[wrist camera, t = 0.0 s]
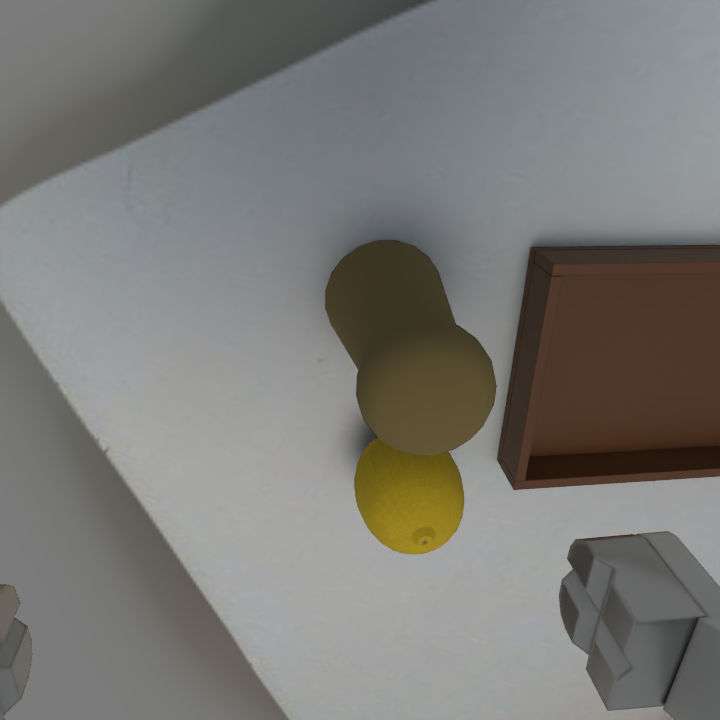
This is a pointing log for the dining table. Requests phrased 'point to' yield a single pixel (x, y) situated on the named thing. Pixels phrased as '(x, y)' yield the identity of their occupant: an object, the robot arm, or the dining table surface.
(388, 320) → the cork
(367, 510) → the lemon
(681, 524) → the dining table surface
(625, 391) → the tray
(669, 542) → the robot arm
